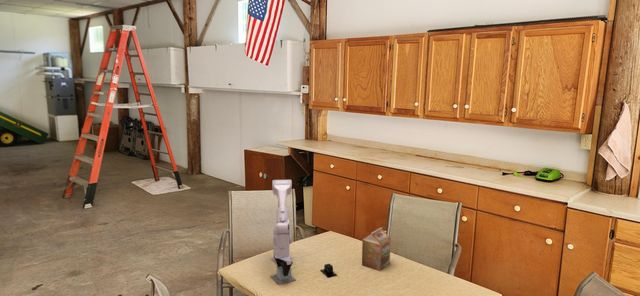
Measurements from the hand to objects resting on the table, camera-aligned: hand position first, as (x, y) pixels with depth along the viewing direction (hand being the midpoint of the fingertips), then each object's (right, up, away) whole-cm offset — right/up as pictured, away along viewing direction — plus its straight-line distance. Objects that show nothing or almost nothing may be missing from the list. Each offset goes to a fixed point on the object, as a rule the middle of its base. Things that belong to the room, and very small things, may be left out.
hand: (283, 273), depth 207 cm
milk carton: (+47, -1, +17) cm, 50 cm away
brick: (0, -2, +1) cm, 2 cm away
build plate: (+22, -3, +7) cm, 23 cm away
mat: (0, -3, +1) cm, 3 cm away
